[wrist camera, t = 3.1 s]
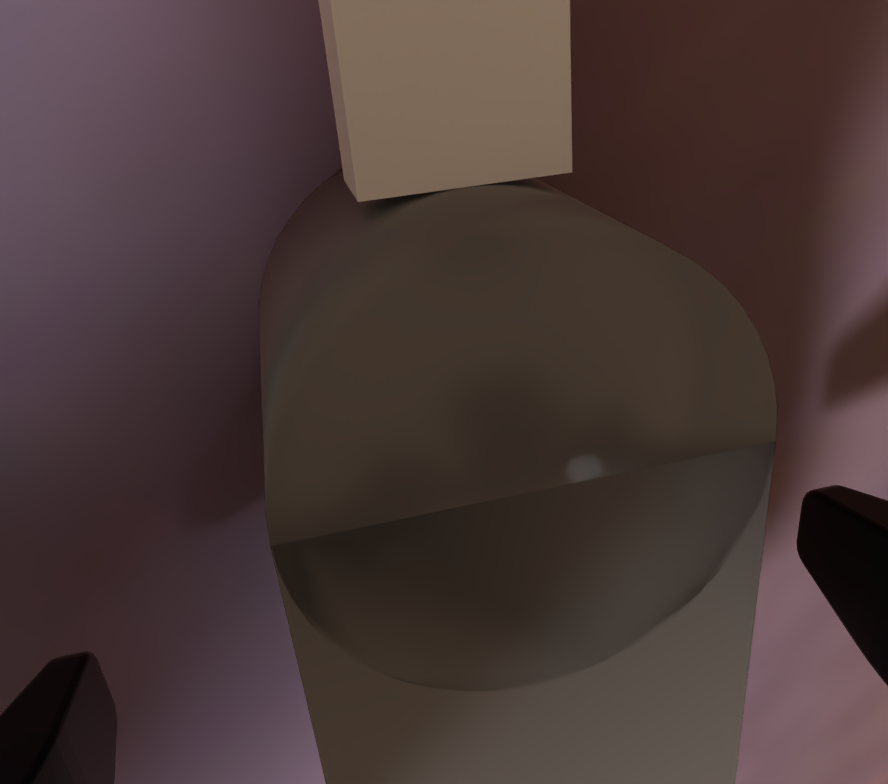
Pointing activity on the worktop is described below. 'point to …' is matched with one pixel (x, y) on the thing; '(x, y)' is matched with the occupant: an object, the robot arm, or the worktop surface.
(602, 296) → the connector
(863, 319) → the worktop surface
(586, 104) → the worktop surface
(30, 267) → the worktop surface
